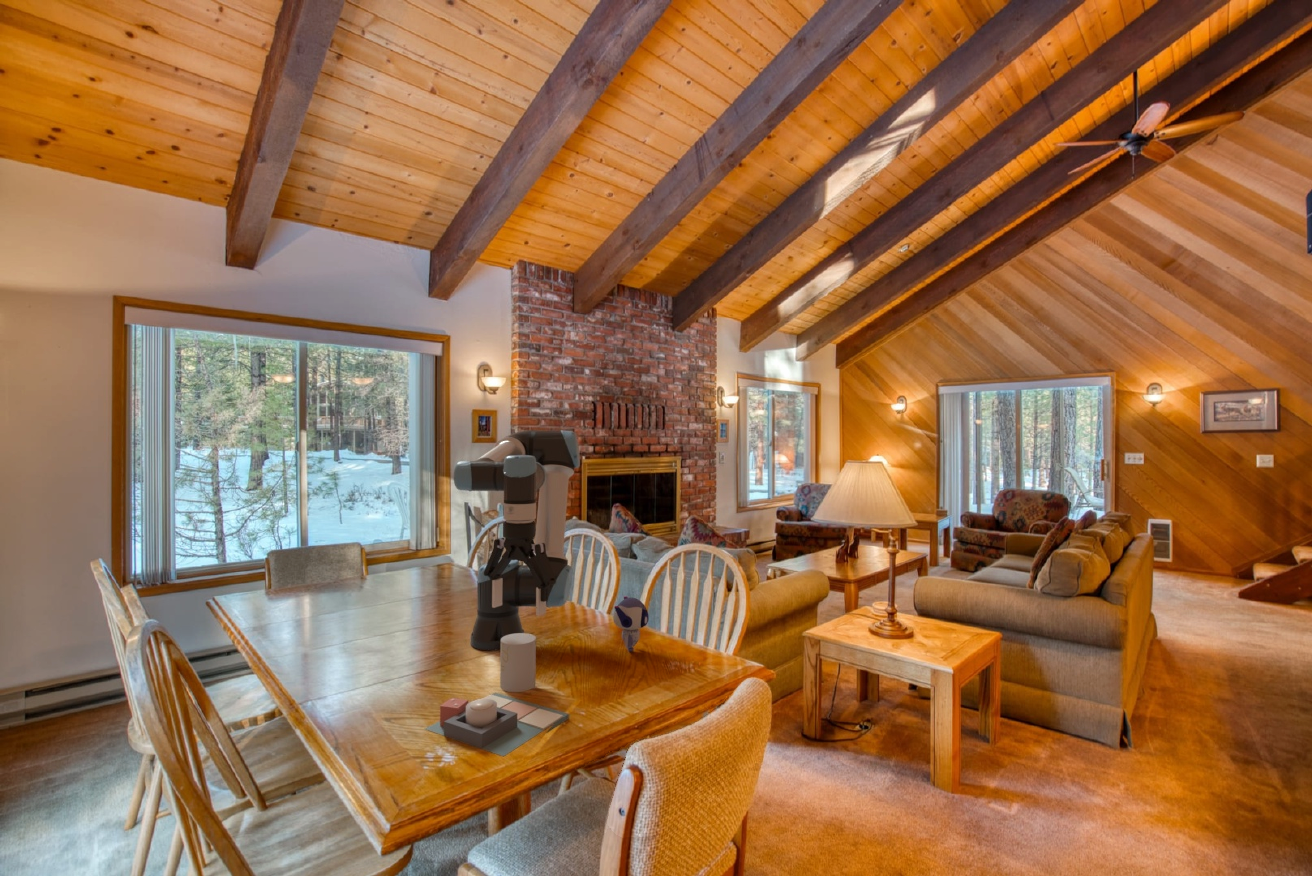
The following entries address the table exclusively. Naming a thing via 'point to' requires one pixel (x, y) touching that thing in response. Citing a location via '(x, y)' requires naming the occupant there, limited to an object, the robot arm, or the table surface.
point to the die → (451, 709)
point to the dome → (481, 712)
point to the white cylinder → (517, 662)
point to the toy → (630, 620)
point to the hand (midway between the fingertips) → (518, 610)
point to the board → (502, 725)
